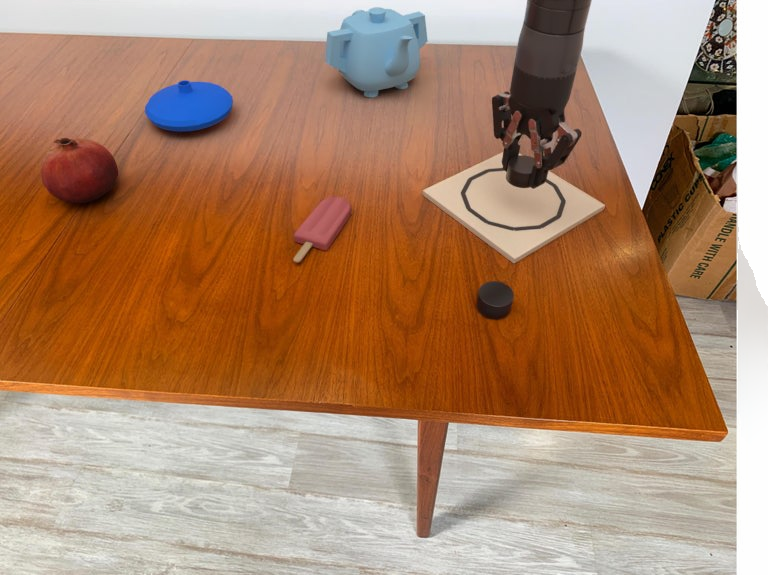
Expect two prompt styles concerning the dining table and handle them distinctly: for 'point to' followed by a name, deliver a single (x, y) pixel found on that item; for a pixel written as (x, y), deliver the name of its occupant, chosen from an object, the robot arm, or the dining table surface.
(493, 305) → the dot right
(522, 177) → the dot left
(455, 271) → the dining table surface
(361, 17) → the teapot
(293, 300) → the dining table surface
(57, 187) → the fruit
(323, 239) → the popsicle
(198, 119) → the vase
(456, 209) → the board
